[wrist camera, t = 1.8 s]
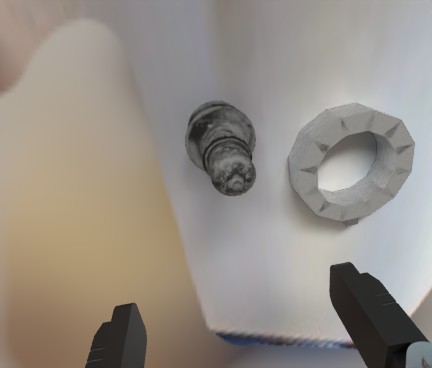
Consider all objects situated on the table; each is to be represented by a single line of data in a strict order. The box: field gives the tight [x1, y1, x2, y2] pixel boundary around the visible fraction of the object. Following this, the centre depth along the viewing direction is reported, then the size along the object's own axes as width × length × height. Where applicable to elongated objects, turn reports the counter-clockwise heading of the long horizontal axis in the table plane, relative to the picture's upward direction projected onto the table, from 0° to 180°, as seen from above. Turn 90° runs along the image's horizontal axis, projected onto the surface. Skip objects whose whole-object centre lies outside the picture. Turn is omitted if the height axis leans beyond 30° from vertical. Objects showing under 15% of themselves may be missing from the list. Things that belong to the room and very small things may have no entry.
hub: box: [288, 103, 415, 226], centre depth 30 cm, size 12×11×3 cm
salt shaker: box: [185, 101, 256, 196], centre depth 23 cm, size 6×6×12 cm
